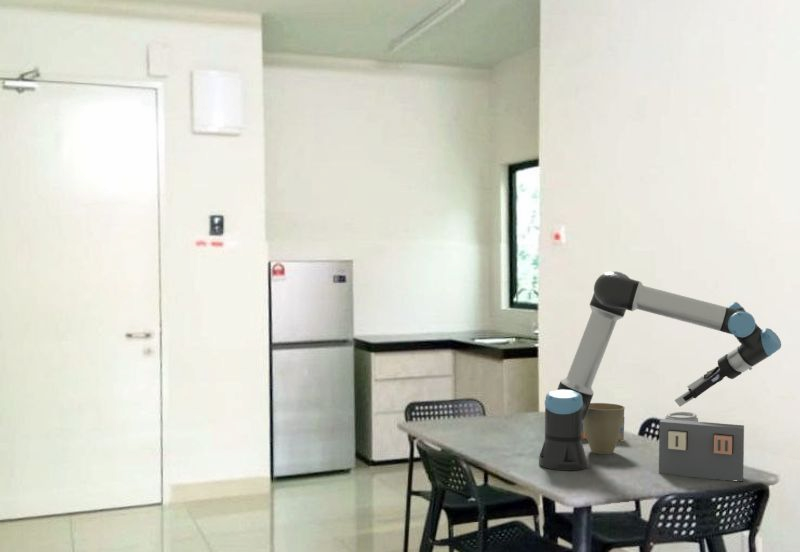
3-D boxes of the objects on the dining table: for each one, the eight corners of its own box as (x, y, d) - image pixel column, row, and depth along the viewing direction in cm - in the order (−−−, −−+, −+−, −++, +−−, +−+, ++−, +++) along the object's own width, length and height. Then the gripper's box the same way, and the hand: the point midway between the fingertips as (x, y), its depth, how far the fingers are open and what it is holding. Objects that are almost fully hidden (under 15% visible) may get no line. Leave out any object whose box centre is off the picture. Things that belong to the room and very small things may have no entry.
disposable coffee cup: (685, 462, 271) (686, 417, 271) (657, 456, 280) (658, 412, 280) (704, 459, 277) (705, 414, 277) (676, 453, 286) (677, 409, 286)
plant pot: (587, 445, 296) (588, 401, 296) (629, 450, 289) (629, 405, 289) (573, 453, 283) (574, 406, 283) (616, 458, 276) (617, 410, 276)
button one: (685, 450, 249) (685, 433, 249) (668, 448, 251) (668, 432, 251) (686, 448, 252) (686, 432, 252) (669, 446, 254) (669, 430, 254)
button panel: (742, 482, 246) (743, 428, 246) (658, 473, 256) (659, 421, 256) (743, 478, 251) (744, 425, 251) (661, 469, 261) (661, 418, 261)
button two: (731, 454, 244) (731, 437, 244) (713, 453, 246) (713, 436, 246) (732, 452, 247) (732, 436, 247) (714, 451, 249) (714, 434, 249)
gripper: (732, 385, 253) (679, 418, 266) (752, 360, 273) (701, 392, 285) (716, 365, 255) (664, 399, 267) (736, 342, 274) (687, 375, 287)
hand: (683, 396), depth 276 cm, fingers open, 13 cm apart
